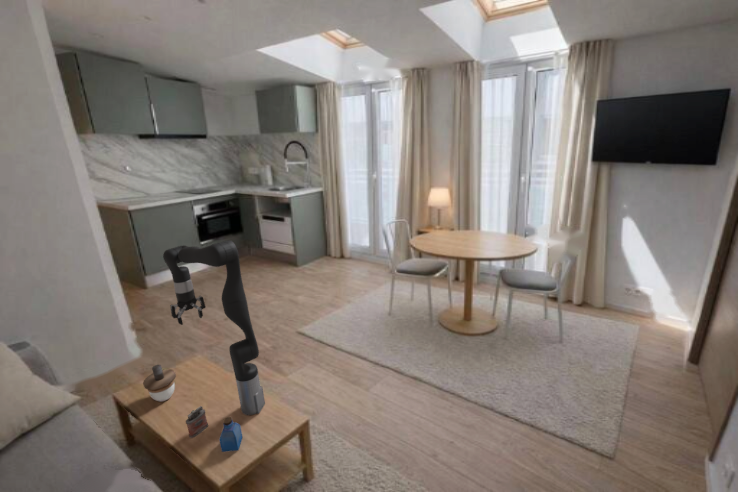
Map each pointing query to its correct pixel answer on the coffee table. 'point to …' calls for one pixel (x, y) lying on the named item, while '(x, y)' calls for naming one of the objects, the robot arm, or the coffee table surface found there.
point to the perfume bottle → (230, 435)
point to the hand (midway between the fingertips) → (191, 320)
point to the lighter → (196, 422)
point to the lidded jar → (163, 392)
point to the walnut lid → (159, 378)
